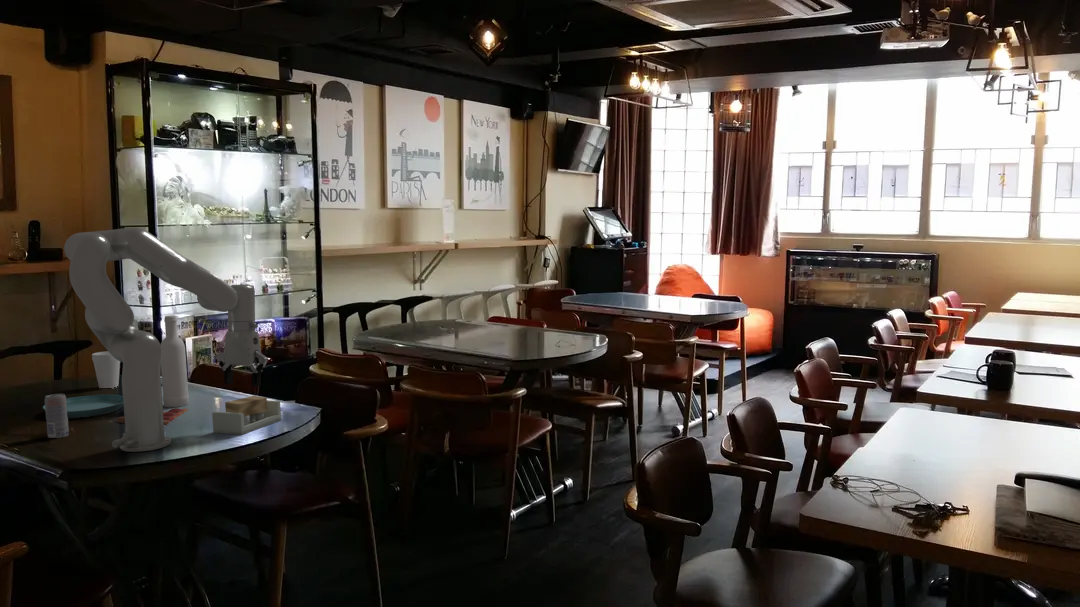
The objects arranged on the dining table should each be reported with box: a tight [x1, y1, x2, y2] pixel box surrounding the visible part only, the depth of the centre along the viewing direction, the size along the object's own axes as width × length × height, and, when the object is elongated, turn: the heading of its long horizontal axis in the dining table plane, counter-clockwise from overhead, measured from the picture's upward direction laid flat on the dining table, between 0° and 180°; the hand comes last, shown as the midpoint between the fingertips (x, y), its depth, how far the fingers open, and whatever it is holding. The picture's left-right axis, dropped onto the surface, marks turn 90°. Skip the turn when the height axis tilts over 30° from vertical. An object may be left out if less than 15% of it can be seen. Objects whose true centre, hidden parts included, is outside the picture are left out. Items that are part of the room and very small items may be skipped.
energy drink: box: [44, 393, 70, 439], centre depth 245 cm, size 5×5×12 cm
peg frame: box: [211, 399, 282, 436], centre depth 252 cm, size 18×10×6 cm, turn 161°
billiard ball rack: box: [116, 407, 189, 426], centre depth 268 cm, size 18×2×20 cm
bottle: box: [160, 314, 190, 408], centre depth 283 cm, size 8×8×30 cm
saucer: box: [42, 394, 124, 419], centre depth 278 cm, size 24×24×3 cm
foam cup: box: [91, 350, 121, 389], centre depth 318 cm, size 10×9×13 cm
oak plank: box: [224, 395, 268, 417], centre depth 251 cm, size 10×6×4 cm, turn 146°
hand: (242, 384), depth 250 cm, fingers open, 9 cm apart
